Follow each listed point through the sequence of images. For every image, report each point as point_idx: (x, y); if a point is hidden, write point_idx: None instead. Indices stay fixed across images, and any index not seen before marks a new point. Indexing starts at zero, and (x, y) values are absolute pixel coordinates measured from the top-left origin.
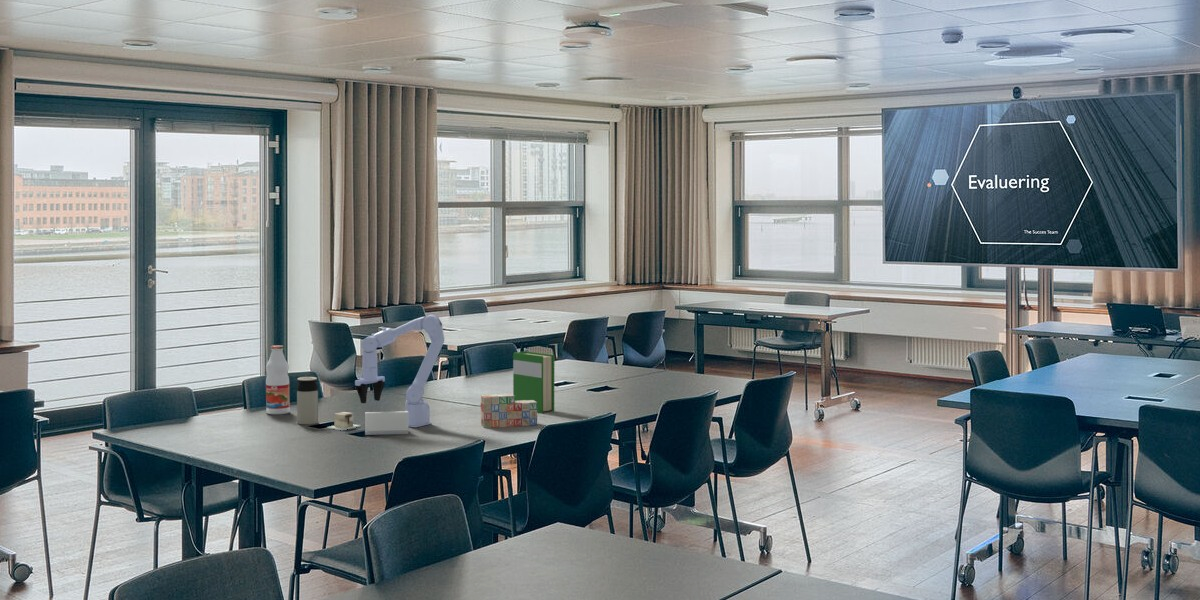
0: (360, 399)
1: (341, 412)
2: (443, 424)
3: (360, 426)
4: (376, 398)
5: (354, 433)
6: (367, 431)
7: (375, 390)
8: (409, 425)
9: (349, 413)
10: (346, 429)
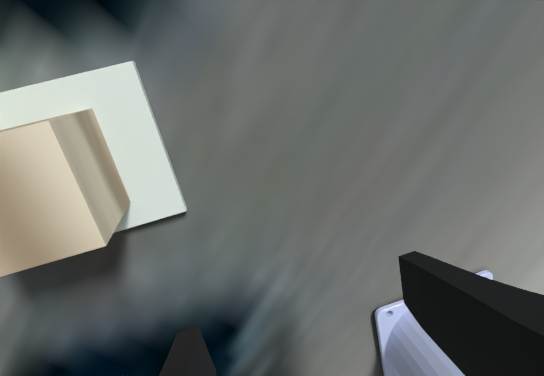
0: (166, 369)
1: (5, 143)
2: None
3: (186, 208)
4: (415, 292)
5: (48, 370)
6: None
7: (500, 344)
8: (384, 360)
9: (64, 246)
10: None
